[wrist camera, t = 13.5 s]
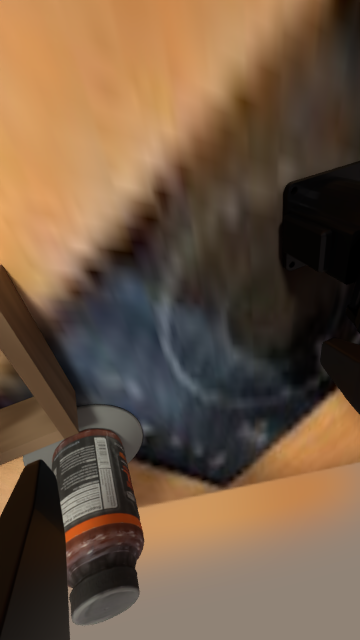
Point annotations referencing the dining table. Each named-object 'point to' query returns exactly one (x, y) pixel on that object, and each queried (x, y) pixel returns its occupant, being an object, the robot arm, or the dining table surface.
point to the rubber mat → (99, 418)
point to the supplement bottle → (98, 525)
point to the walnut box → (32, 383)
